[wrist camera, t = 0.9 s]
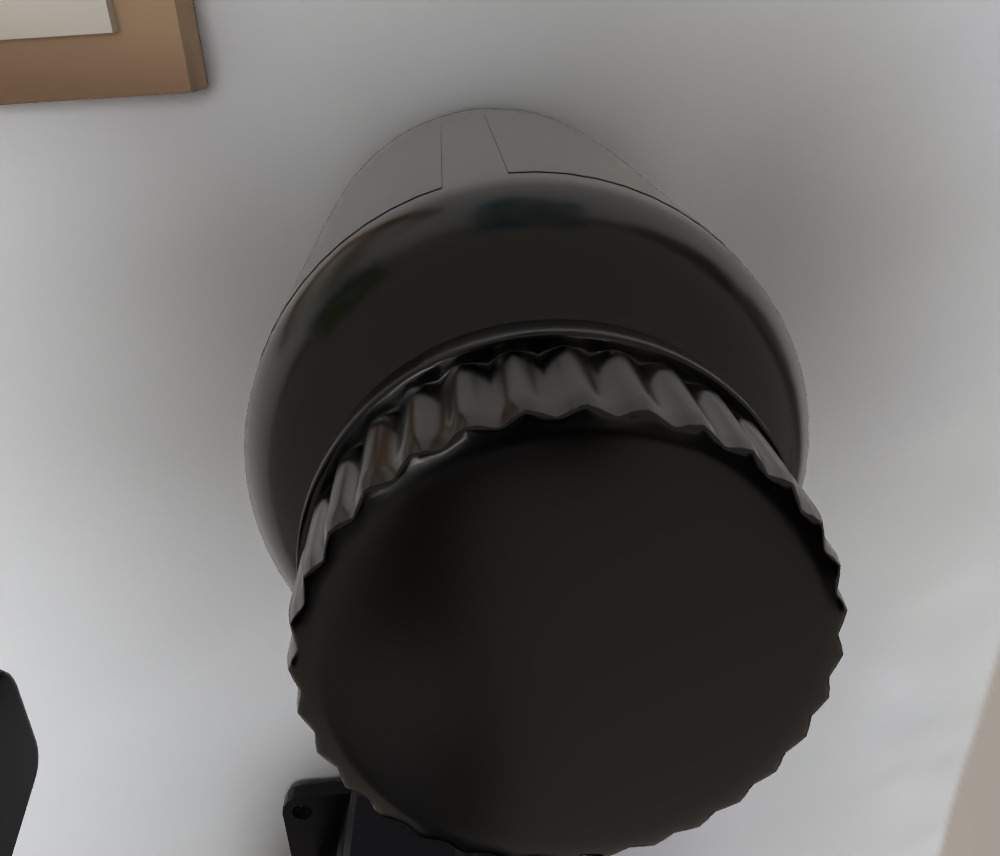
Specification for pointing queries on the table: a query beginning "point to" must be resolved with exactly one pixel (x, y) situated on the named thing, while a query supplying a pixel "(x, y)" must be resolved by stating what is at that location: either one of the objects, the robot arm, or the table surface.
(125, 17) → the picture frame
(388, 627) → the supplement bottle
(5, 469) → the table surface
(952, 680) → the table surface
